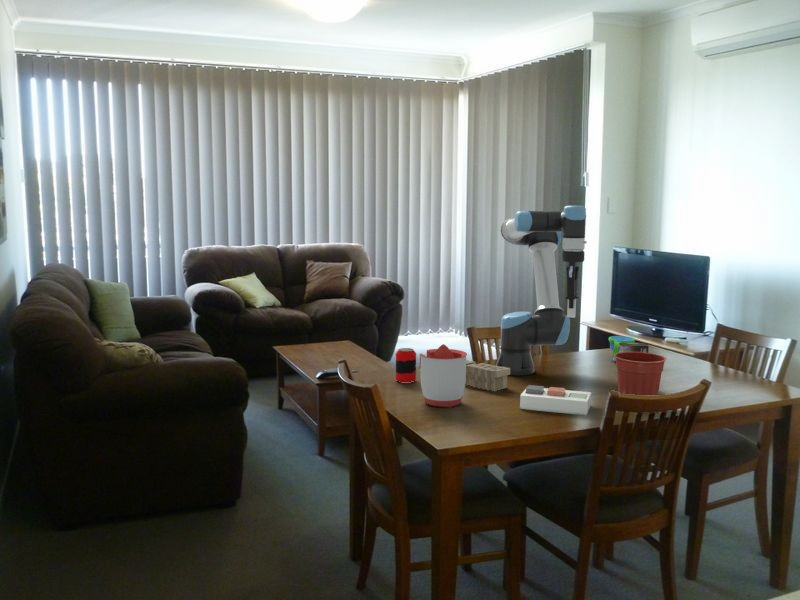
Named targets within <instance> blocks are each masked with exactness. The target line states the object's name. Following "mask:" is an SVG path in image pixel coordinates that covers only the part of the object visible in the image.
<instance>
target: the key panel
mask: <svg viewBox="0 0 800 600" xmlns="http://www.w3.org/2000/svg"><path fill="white" fill-rule="evenodd" d="M548 389H549V388H548V387H544V392H543V394H542V395H539V394H528V393H526V388H525V389H524V390H523V391H522V392H521V393H520V397H519V400H520V401H519V402H520V403H519V409H520V410H528V411H539V412H549V413H558V414H559V413H560V414H567V415H568V414H570V415H580V416H588V413H589V411H590V409H591V406H592V392H591V391H590V392H589V391H580V390H569V389H565V395H564V397H561V396H550V395H547V390H548ZM571 394H583V395H587V397H586V399H583V398H572V397H570V395H571Z"/></svg>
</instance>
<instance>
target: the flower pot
mask: <svg viewBox="0 0 800 600" xmlns="http://www.w3.org/2000/svg"><path fill="white" fill-rule="evenodd" d="M614 357H615V358H616V363H615V366H616V368H617V370H616V371H617V393H618V392H620V393H621V394H635V395H658V396H659V391H660V384H661V378H662V373H663V370H664V367H665V362H667V358H666V357H665V356H664V355H661V354H657V353H652V352H648V353H645V352H620V353H616V354H614Z"/></svg>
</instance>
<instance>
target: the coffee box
mask: <svg viewBox="0 0 800 600" xmlns="http://www.w3.org/2000/svg"><path fill="white" fill-rule="evenodd" d="M649 347H650V346H649V345H648V344H646V343H645V342H635V343H619V353H620V352H645V353H649Z"/></svg>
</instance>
